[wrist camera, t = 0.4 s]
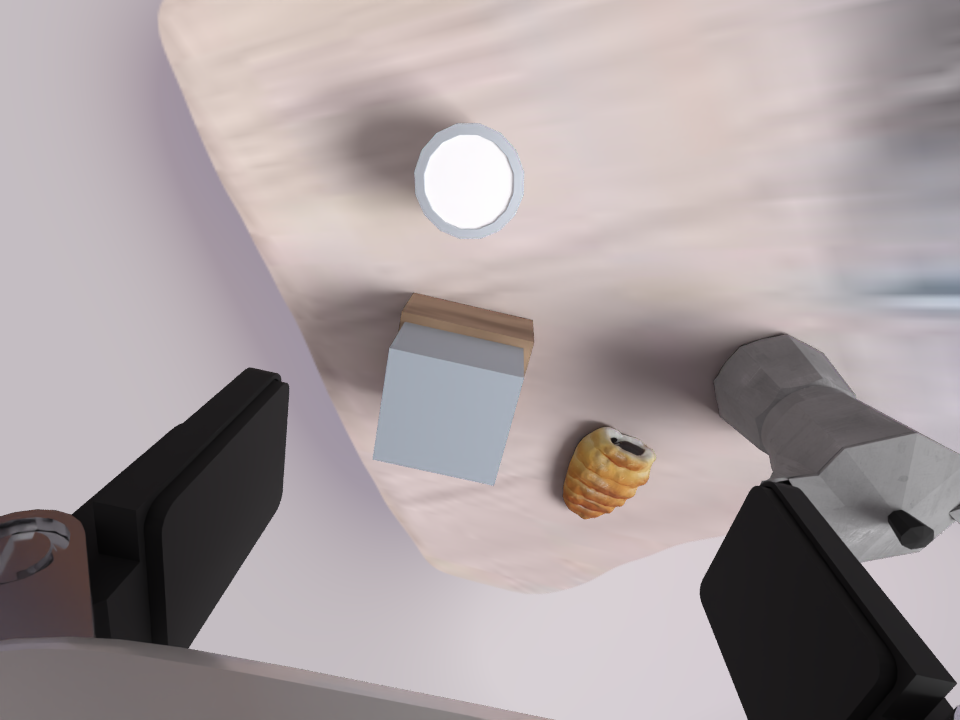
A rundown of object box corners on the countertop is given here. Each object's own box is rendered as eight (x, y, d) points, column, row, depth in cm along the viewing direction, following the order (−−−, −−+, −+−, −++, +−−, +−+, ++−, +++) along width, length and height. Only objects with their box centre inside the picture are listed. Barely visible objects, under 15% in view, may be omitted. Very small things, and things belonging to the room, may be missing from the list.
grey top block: (404, 321, 38) (389, 348, 33) (523, 348, 38) (524, 378, 34) (388, 423, 42) (372, 459, 37) (496, 446, 42) (494, 485, 37)
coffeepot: (676, 425, 45) (765, 593, 29) (701, 325, 41) (821, 454, 25) (855, 440, 45) (1049, 621, 28) (898, 340, 41) (1152, 483, 24)
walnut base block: (414, 291, 42) (401, 311, 38) (532, 319, 42) (534, 342, 38) (396, 395, 46) (383, 424, 42) (504, 420, 47) (502, 451, 42)
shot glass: (533, 134, 37) (536, 135, 30) (512, 230, 39) (511, 250, 33) (438, 114, 36) (421, 111, 30) (424, 211, 39) (406, 228, 33)
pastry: (605, 516, 50) (612, 545, 47) (543, 490, 50) (545, 517, 46) (658, 443, 46) (668, 469, 43) (591, 414, 46) (597, 438, 42)
